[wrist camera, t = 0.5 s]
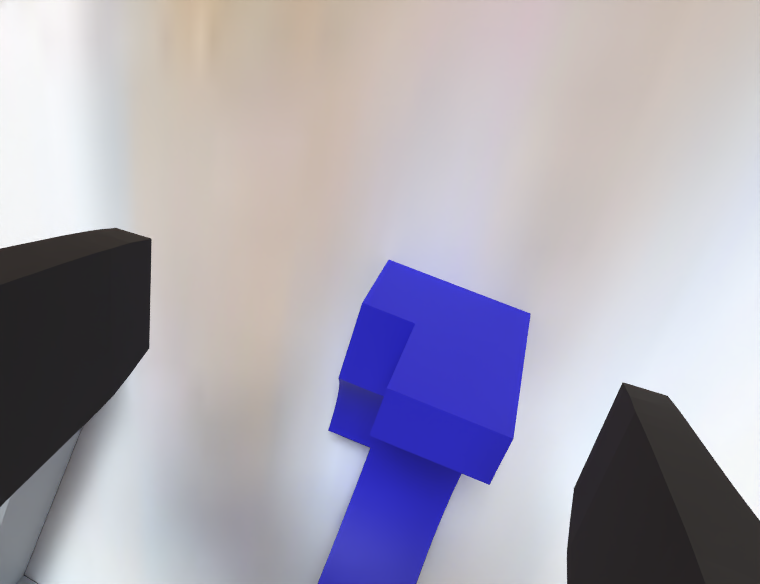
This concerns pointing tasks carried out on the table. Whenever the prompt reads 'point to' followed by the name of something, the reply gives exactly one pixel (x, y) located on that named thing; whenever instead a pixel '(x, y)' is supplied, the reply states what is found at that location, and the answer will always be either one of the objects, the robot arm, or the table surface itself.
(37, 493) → the corner bracket
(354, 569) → the cable clip
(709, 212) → the table surface
